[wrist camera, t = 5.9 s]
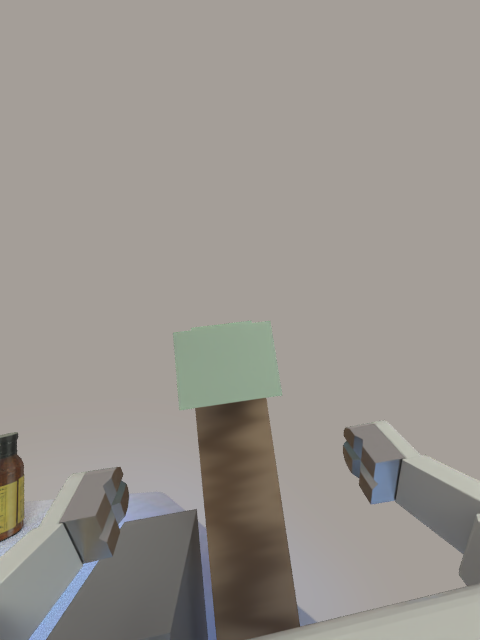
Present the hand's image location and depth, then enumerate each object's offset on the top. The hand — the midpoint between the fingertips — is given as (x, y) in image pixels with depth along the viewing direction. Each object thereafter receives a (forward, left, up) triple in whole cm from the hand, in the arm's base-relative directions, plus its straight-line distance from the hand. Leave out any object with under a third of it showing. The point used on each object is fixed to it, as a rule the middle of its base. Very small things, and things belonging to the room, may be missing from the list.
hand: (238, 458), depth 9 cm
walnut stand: (0, -12, -24) cm, 27 cm away
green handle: (0, -8, +2) cm, 8 cm away
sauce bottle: (+50, -51, -24) cm, 76 cm away
